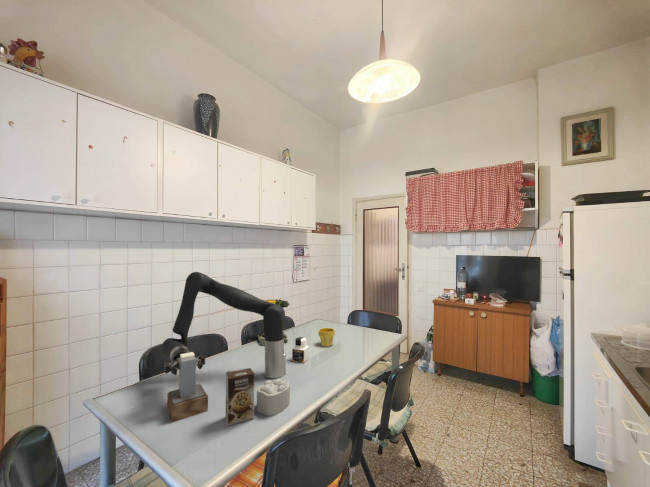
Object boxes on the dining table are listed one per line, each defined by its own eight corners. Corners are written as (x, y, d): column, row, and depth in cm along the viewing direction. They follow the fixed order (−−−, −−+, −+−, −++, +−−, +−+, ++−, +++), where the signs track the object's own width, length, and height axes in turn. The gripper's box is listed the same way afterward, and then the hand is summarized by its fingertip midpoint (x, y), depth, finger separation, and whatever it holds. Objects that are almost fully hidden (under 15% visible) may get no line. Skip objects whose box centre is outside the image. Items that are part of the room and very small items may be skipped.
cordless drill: (261, 347, 176) (261, 303, 177) (256, 338, 194) (256, 298, 195) (290, 343, 184) (289, 300, 185) (282, 335, 201) (282, 296, 202)
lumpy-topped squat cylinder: (253, 408, 107) (253, 385, 107) (278, 394, 117) (278, 373, 118) (271, 417, 101) (271, 393, 101) (296, 402, 111) (296, 380, 111)
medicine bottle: (292, 361, 153) (292, 339, 153) (298, 356, 159) (298, 335, 160) (303, 363, 150) (303, 340, 150) (309, 358, 157) (309, 336, 157)
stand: (200, 397, 115) (200, 382, 115) (207, 410, 106) (207, 394, 106) (167, 407, 108) (167, 391, 108) (172, 422, 99) (172, 404, 99)
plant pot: (316, 343, 182) (316, 328, 183) (331, 341, 185) (331, 327, 186) (321, 348, 172) (321, 332, 173) (337, 346, 175) (336, 331, 176)
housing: (193, 388, 111) (193, 351, 111) (195, 393, 107) (195, 355, 107) (178, 392, 108) (179, 354, 108) (181, 397, 104) (181, 358, 104)
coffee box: (227, 426, 96) (227, 378, 96) (225, 416, 101) (225, 371, 102) (254, 419, 100) (254, 373, 100) (250, 410, 106) (250, 366, 106)
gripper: (161, 351, 115) (167, 364, 102) (198, 344, 123) (208, 355, 110) (161, 370, 115) (167, 385, 101) (198, 361, 123) (208, 374, 110)
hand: (188, 369), depth 106 cm, fingers open, 8 cm apart
